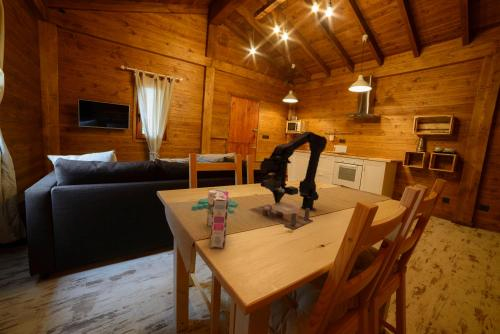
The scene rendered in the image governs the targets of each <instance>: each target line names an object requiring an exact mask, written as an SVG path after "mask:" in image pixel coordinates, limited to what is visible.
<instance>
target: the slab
mask: <svg viewBox="0 0 500 334" xmlns="http://www.w3.org/2000/svg"><path fill="white" fill-rule="evenodd" d="M271 205H272V209H274V210H277V211H279V212H282V213H284V214H287V215H288V214H291V213H294V212H300V211H301V209H302V208H301V207H302V206H301V205H297V204H294V203H292V202H289V201H286V200H284V201H280V202H279V203H275V202H274V203H272V204H271Z"/></svg>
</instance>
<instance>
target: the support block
mask: <svg viewBox="0 0 500 334" xmlns="http://www.w3.org/2000/svg"><path fill="white" fill-rule="evenodd" d="M294 213H297V216H296V220H298V215H299V214H300V211H297V212H294ZM291 215H292V213H291V214H288V215H287V214H284V213H283V219H286V220H288V221H291Z"/></svg>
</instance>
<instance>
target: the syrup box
mask: <svg viewBox="0 0 500 334" xmlns="http://www.w3.org/2000/svg"><path fill="white" fill-rule="evenodd" d="M216 191H218V192H228V191H227V190H224V189H220V188H212V189H210V190H209V191H208V193H207V197H208V209H207V212H206V213H207V216H206V226H207V227H210V228H212V214H213V199H214V196H215V193H216Z"/></svg>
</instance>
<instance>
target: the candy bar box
mask: <svg viewBox="0 0 500 334" xmlns="http://www.w3.org/2000/svg"><path fill="white" fill-rule="evenodd" d="M228 199H229V191H227V192H218V191H216V193H215V196H214V199H213V214H212V227H210V228H211V230H210V231H211V232H210V242H209V243H210V244H209V245H210V246H209V248H210V249H211V248H212V249H225V248H226V247H225V244H226V235H227V224H228V214H229V211H228Z"/></svg>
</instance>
